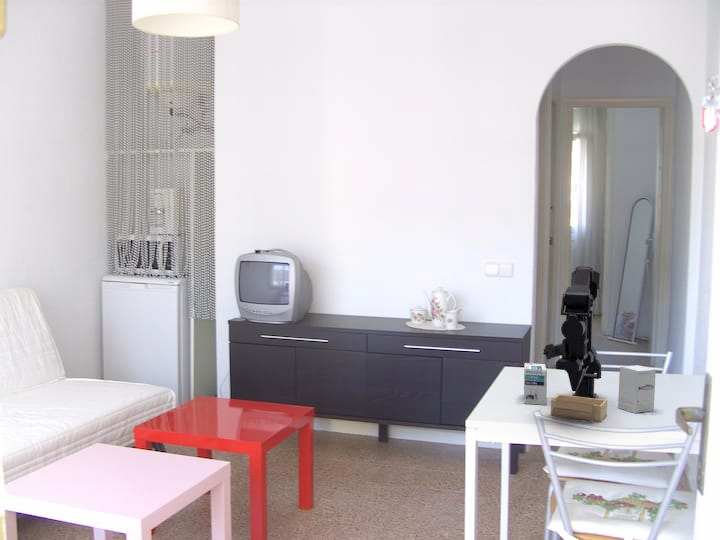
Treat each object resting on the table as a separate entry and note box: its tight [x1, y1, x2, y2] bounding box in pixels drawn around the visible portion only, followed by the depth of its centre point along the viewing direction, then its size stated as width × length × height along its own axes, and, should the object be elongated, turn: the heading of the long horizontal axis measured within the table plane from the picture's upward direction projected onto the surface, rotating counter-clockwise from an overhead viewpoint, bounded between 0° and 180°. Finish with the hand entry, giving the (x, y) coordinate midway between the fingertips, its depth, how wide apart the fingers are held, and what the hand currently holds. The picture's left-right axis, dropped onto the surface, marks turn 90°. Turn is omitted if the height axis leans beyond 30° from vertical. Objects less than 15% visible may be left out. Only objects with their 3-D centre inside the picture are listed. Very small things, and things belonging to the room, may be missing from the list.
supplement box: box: [617, 364, 657, 414], centre depth 225 cm, size 7×7×13 cm
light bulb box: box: [523, 362, 548, 406], centre depth 235 cm, size 11×7×11 cm, turn 168°
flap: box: [550, 397, 599, 422], centre depth 212 cm, size 3×13×5 cm, turn 61°
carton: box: [549, 393, 608, 423], centre depth 218 cm, size 8×14×4 cm, turn 61°
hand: (574, 391), depth 212 cm, fingers closed
